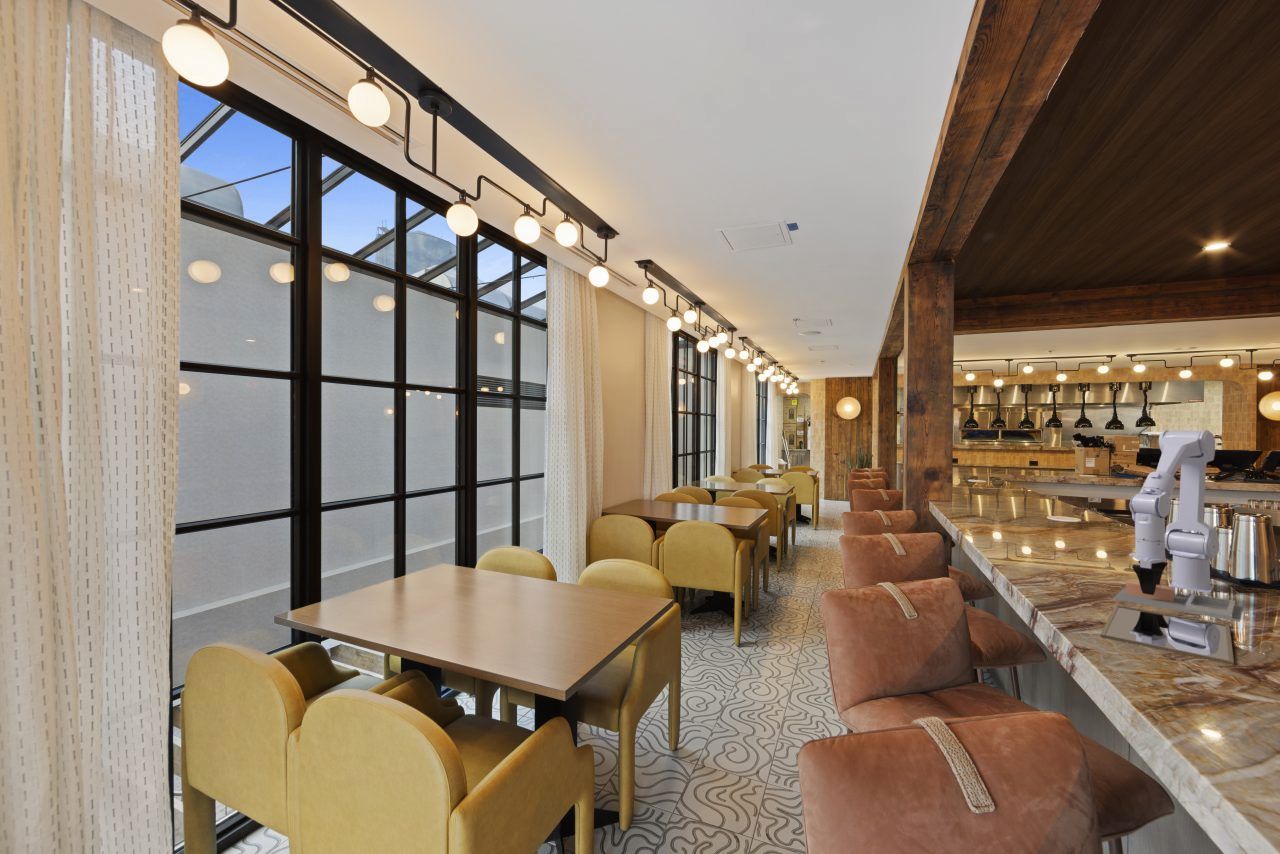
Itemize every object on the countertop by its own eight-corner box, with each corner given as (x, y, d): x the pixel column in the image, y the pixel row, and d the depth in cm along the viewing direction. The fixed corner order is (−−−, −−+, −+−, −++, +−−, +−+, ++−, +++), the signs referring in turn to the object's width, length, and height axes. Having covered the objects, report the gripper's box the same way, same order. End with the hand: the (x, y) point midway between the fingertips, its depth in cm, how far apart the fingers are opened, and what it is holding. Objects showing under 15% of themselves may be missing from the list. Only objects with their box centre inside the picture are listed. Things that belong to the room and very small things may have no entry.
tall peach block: (1129, 591, 146) (1128, 580, 146) (1175, 598, 139) (1175, 587, 139) (1126, 594, 144) (1126, 582, 144) (1173, 602, 137) (1173, 590, 137)
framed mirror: (1233, 667, 101) (1229, 629, 120) (1233, 662, 101) (1229, 624, 120) (1100, 639, 115) (1115, 608, 134) (1100, 634, 115) (1115, 604, 134)
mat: (1124, 588, 150) (1124, 587, 150) (1242, 607, 133) (1242, 606, 133) (1112, 599, 140) (1112, 598, 140) (1239, 622, 123) (1239, 621, 123)
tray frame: (1191, 599, 139) (1191, 593, 139) (1235, 606, 133) (1235, 600, 133) (1185, 610, 131) (1185, 604, 131) (1232, 618, 125) (1231, 612, 125)
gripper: (1134, 533, 149) (1134, 582, 149) (1124, 540, 140) (1125, 593, 140) (1169, 537, 144) (1170, 588, 144) (1161, 545, 135) (1162, 599, 135)
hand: (1150, 591), depth 141 cm, fingers open, 7 cm apart
